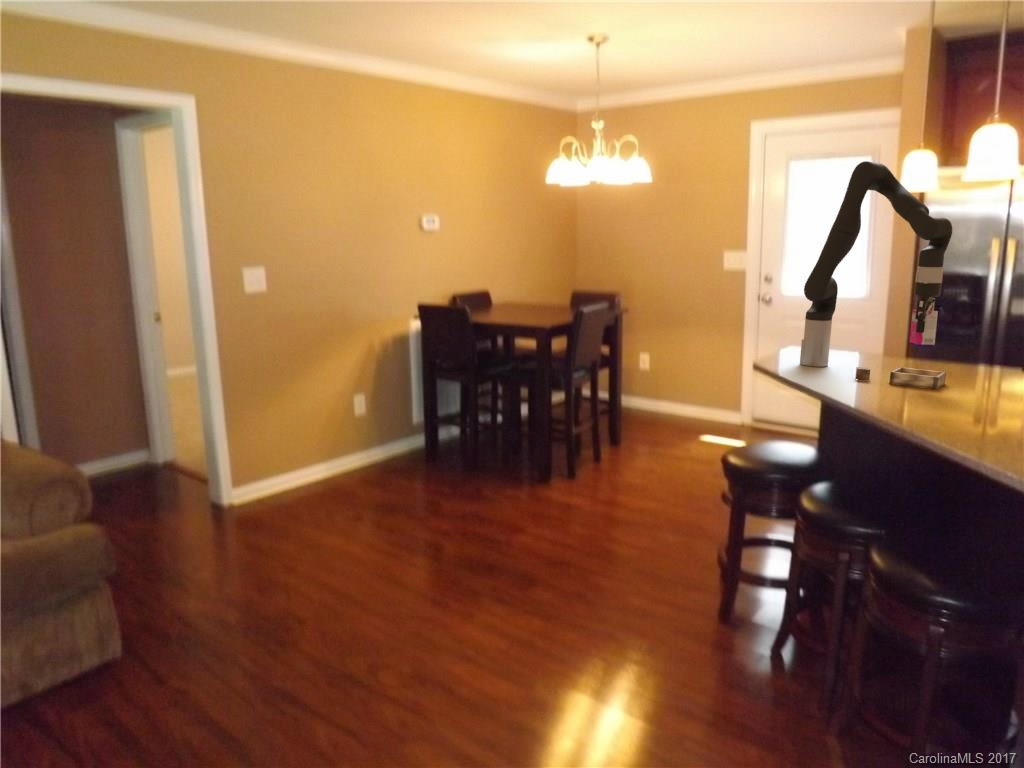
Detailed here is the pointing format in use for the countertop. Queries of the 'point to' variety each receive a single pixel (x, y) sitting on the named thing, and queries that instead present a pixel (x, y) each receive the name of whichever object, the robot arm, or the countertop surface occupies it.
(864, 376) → the walnut block
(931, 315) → the supplement box
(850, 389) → the countertop surface
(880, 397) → the countertop surface
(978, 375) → the countertop surface
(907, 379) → the crate
